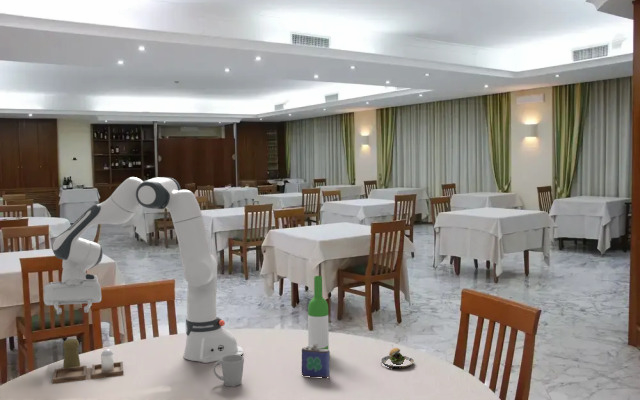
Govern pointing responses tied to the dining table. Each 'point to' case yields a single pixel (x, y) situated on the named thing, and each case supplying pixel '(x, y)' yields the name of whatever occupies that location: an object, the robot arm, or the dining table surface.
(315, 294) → the wine bottle
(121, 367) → the cruet board
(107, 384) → the dining table surface
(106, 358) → the salt cellar
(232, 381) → the cup
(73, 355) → the olive green stopper
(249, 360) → the dining table surface
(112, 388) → the dining table surface
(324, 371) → the flask
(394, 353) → the burger
